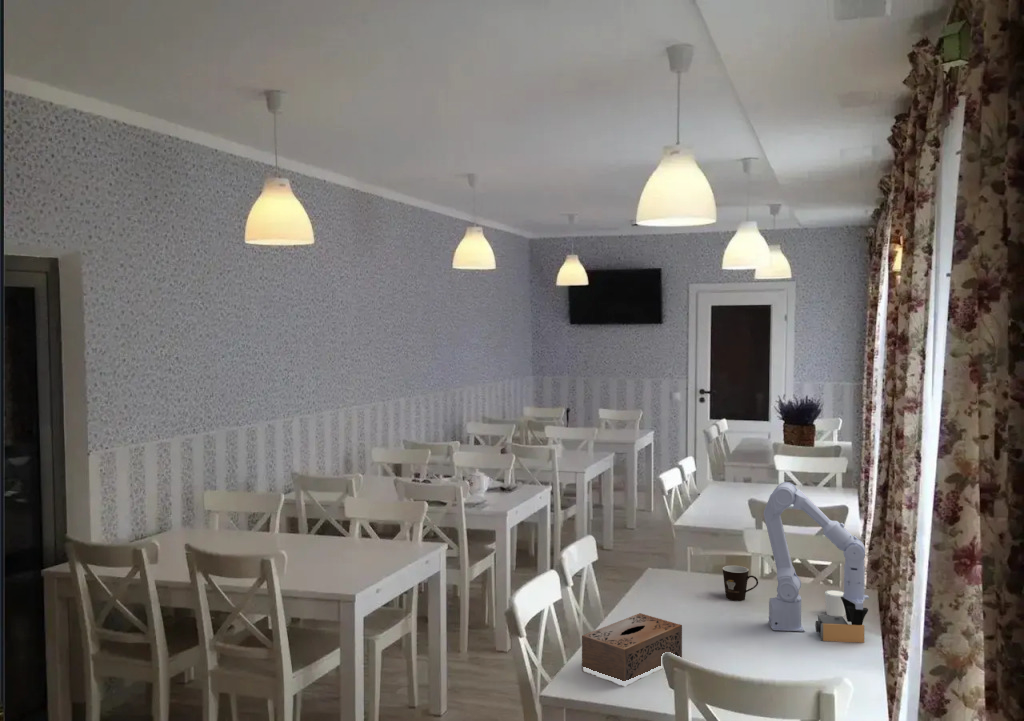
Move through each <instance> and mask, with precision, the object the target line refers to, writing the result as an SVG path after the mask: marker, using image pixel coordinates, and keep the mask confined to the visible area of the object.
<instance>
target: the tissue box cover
mask: <svg viewBox="0 0 1024 721" xmlns="http://www.w3.org/2000/svg"><path fill="white" fill-rule="evenodd" d="M665 652H671V653H673V654H675V655H677V656H680V657H682V658H683V625H682V624H679V623H676V622H673V621H672V622H671V621H668V620H666V619H662V618H659V617H655V616H652V615H648V614H644V613H636V614H634V615H632V616H629V617H626V618H624V619H621V620H618V621H617V622H614V623H611V624H608V625H607V626H606V625H605V626H603V627H601V628H598V629H595V630H593V631H590V632H588V633H585V634H583V635H581V667H582V666H583V667H586V668H589V669H591V670H593V671H597V672H599V673H602V674H605V675H608V676H611V677H614V678H617V679H620V680H622V681H626V680H629V679H631V678H634V677H636V676H638V675H641V674H643V673H645V672H648V671H650V670H651V669H654V668H656V667H658V666H661V656H662V654H663V653H665Z"/></svg>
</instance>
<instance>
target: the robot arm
mask: <svg viewBox="0 0 1024 721" xmlns="http://www.w3.org/2000/svg"><path fill="white" fill-rule="evenodd" d="M791 506H792V509H794V510H800V511H803V512H804V513H805V514H807V515H808V516H809V517H810V518H811V519H812V520H813V521H814V522H815V523H817V524H818V525H819V526H820V527H821V528H822V530H823V531H822V533H823V536H825V537H826V538H827V539H828V540H829V541H830V542H831V543H832V544H833V545H835V547H836V548H838V550H840V551H843V557H844V558H845V560H844V566H843V592H844V594H843V597H841V600H842V602H843V604H844V608H845V617H846V620H847V621H846V622H847V623H848V622H849V623H850V624H851V625H864V624H863V623H864V620H865V617H866V615H867V614H868V612H869V608H868V607H864V602H865V601H866V600H869V599H870V597H869V595H867V594H865V590H866V589H865V588H866V586H865V581H866V580H865V579H866V578H865V577H866V576H865V574H866V573H865V572H866V571H865V570H866V568H865V558H866V547H865V544H864V542H862V540H861V539H859V538H858V537H857V536H856V535H852V533H851V532H850V531H848V530H847V529H846V528H845V525H846V524H844V522H841V523H840V522H839V521H838V520H831V519H830V518H829V517H828V516H827V515H826V514H825V513H824V512H823V511H822V510H821V509H820V508H819V507H818V506H817V505H816V504H815V503H814V502H813V501H812V500H811V499H810V497H808V496H807V495H806V494H805V493H804V492H803V491H802V490H801V489H799V488H797V487H796V485H795V484H793V483H792V482H789V481H783V482H780V483H779V484H778V485H777V486H776V487H775V488H774V490H773V491H772V492H771V494H770V495H769V497H768V500H767V503H766V504H765V507H764V510H763V517H764V521H765V526H766V530H767V533H768V539H769V542H770V547H771V551H772V555H773V559H774V564H775V567H776V580H777V585H776V586H777V587H776V592H777V595H776V597H770V598H769V601H768V623H769V626H770V628H771V630H772V631H779V632H782V631H783V632H805V628H804V626H803V625H802V596H801V595H800V594H799V593H800V590H801V588H802V581H801V578H800V577H799V576H798V575H797V573H796V569H795V567H794V566H793V563H792V562H793V561H792V558H791V553H790V549H789V546H788V542H787V536H786V534H785V533H786V532H785V529H784V525H783V521H782V516H781V515H783V513H784V511H785V510H786V509H788V508H790V507H791Z"/></svg>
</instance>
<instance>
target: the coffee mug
mask: <svg viewBox="0 0 1024 721" xmlns="http://www.w3.org/2000/svg"><path fill="white" fill-rule="evenodd" d="M749 571H750V569H749V568H747V567H745V566H741V565H725V566H723V567H722V575H723V584H724V592H725V599H726V600H728V601H731V602H732V601H733V602H742V601H745V600H746V595H747V593H748V592H749V591H752V590H754V589H755V588H756V587H757V586H758V585H759V579H758V578H757V577H756V575H755V576H754V575H749ZM750 578H753V579H754V580H755V582H756V584H755V585H753V587H751V588H748V589H747V587H748V586H747V585H748V580H749V579H750Z"/></svg>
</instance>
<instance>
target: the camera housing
mask: <svg viewBox="0 0 1024 721" xmlns="http://www.w3.org/2000/svg"><path fill="white" fill-rule="evenodd" d="M821 623H824V624H848V621H846V619H845V618H844V617H842V616H829V615H819V614H818V615H817V620H815V623H814V626H815V632H817V633H818V634H819V636H820V637H821Z"/></svg>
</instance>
